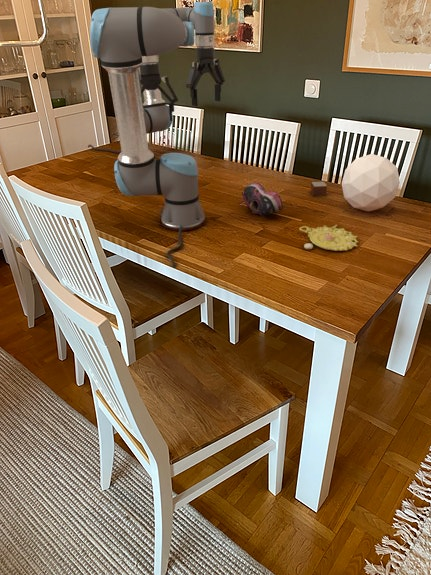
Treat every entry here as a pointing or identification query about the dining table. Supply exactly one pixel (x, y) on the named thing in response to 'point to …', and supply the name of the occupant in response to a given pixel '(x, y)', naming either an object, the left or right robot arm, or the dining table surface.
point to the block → (318, 188)
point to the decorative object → (330, 238)
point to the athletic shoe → (261, 200)
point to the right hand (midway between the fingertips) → (154, 121)
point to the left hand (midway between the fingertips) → (206, 103)
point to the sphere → (370, 182)
